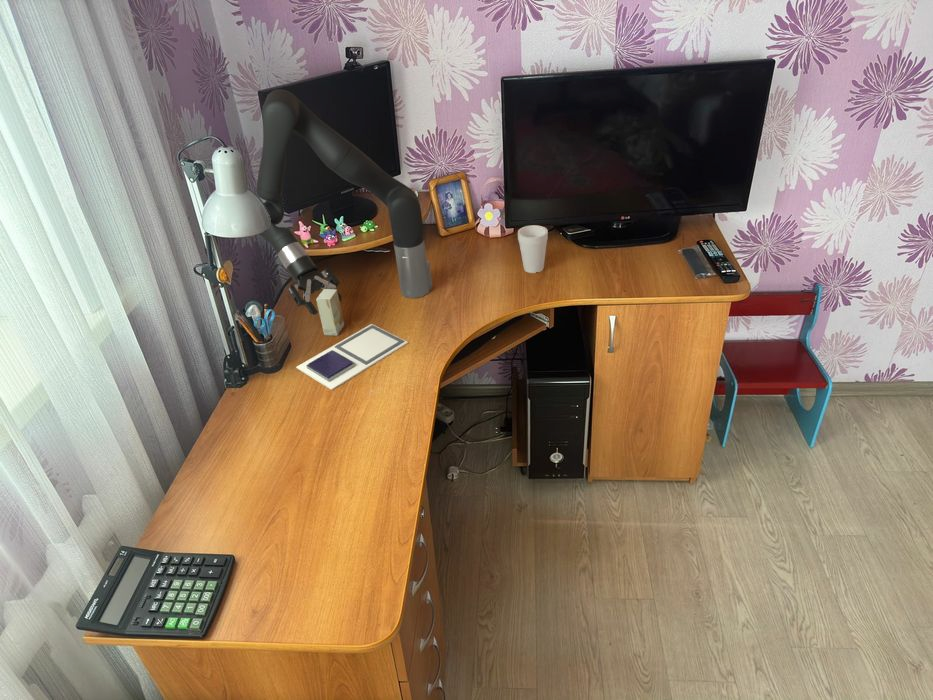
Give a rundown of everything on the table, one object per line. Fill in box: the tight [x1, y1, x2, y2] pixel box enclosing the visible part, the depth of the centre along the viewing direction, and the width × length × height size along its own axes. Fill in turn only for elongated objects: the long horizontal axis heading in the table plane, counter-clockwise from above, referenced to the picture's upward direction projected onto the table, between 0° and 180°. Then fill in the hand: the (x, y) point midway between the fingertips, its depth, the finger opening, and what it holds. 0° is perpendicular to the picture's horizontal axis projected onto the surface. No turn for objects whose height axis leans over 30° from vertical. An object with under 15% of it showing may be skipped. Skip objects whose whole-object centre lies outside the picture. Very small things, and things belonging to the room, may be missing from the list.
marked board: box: [296, 323, 409, 391], centre depth 194 cm, size 27×16×1 cm, turn 136°
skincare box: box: [316, 289, 345, 336], centre depth 202 cm, size 6×4×12 cm
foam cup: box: [517, 224, 549, 274], centre depth 223 cm, size 10×9×13 cm
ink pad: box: [306, 350, 356, 382], centre depth 189 cm, size 9×10×2 cm
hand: (328, 307), depth 202 cm, fingers open, 8 cm apart
